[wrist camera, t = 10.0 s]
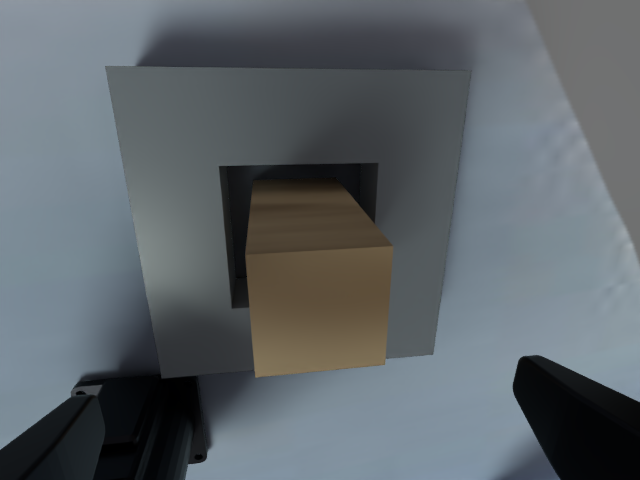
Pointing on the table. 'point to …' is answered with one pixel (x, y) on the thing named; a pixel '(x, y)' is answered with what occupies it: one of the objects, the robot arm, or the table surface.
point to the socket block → (281, 149)
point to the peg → (315, 279)
